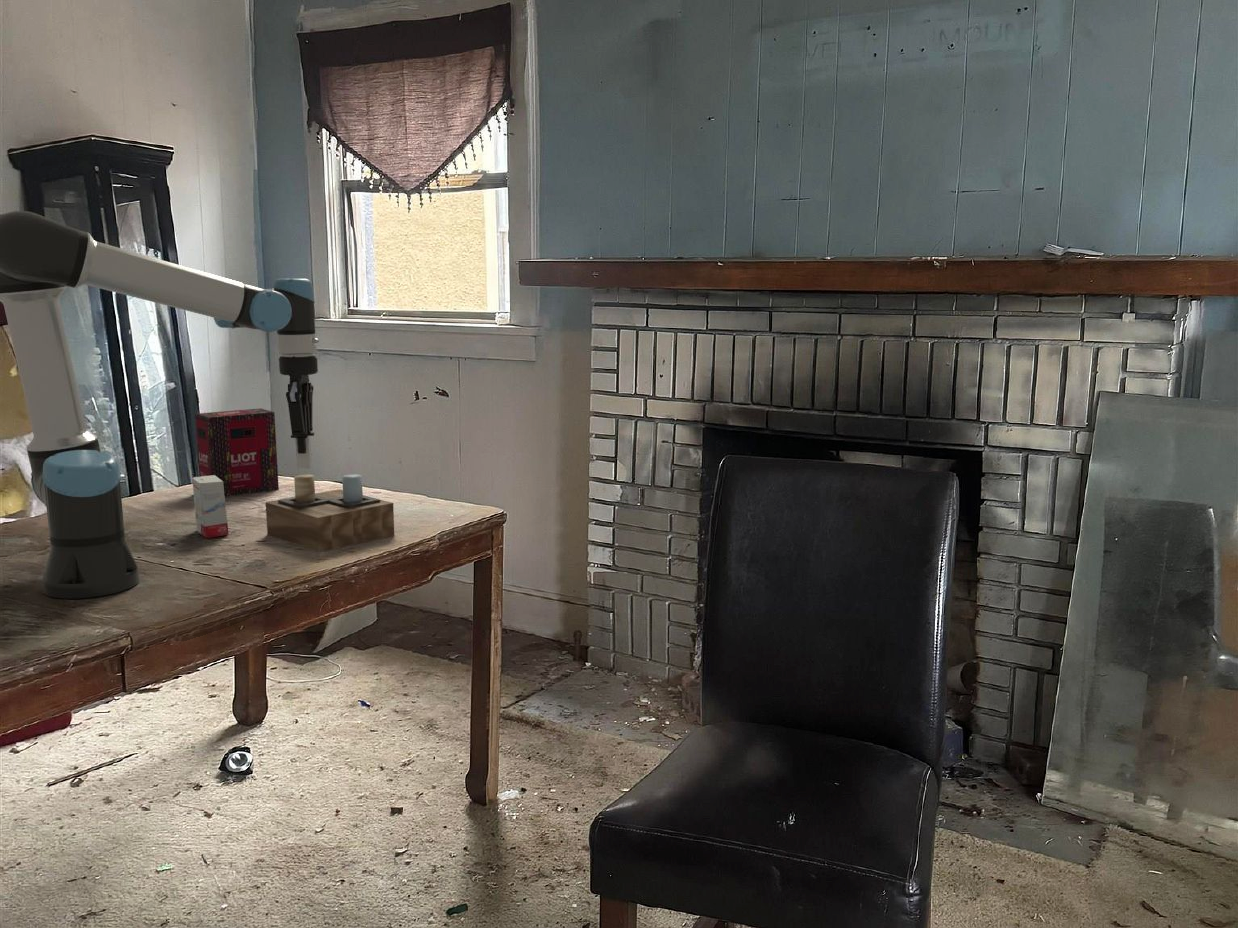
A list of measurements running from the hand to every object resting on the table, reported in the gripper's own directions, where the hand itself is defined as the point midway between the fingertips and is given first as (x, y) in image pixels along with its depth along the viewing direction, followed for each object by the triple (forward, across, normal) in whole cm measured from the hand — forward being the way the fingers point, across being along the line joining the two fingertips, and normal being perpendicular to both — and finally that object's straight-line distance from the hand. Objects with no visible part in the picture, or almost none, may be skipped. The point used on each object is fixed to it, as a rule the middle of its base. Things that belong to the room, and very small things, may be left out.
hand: (304, 467), depth 212 cm
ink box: (+15, +2, +21) cm, 25 cm away
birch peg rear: (+9, 0, 0) cm, 9 cm away
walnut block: (+15, 0, -5) cm, 15 cm away
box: (+15, +44, +28) cm, 54 cm away
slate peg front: (+9, 0, -10) cm, 14 cm away
